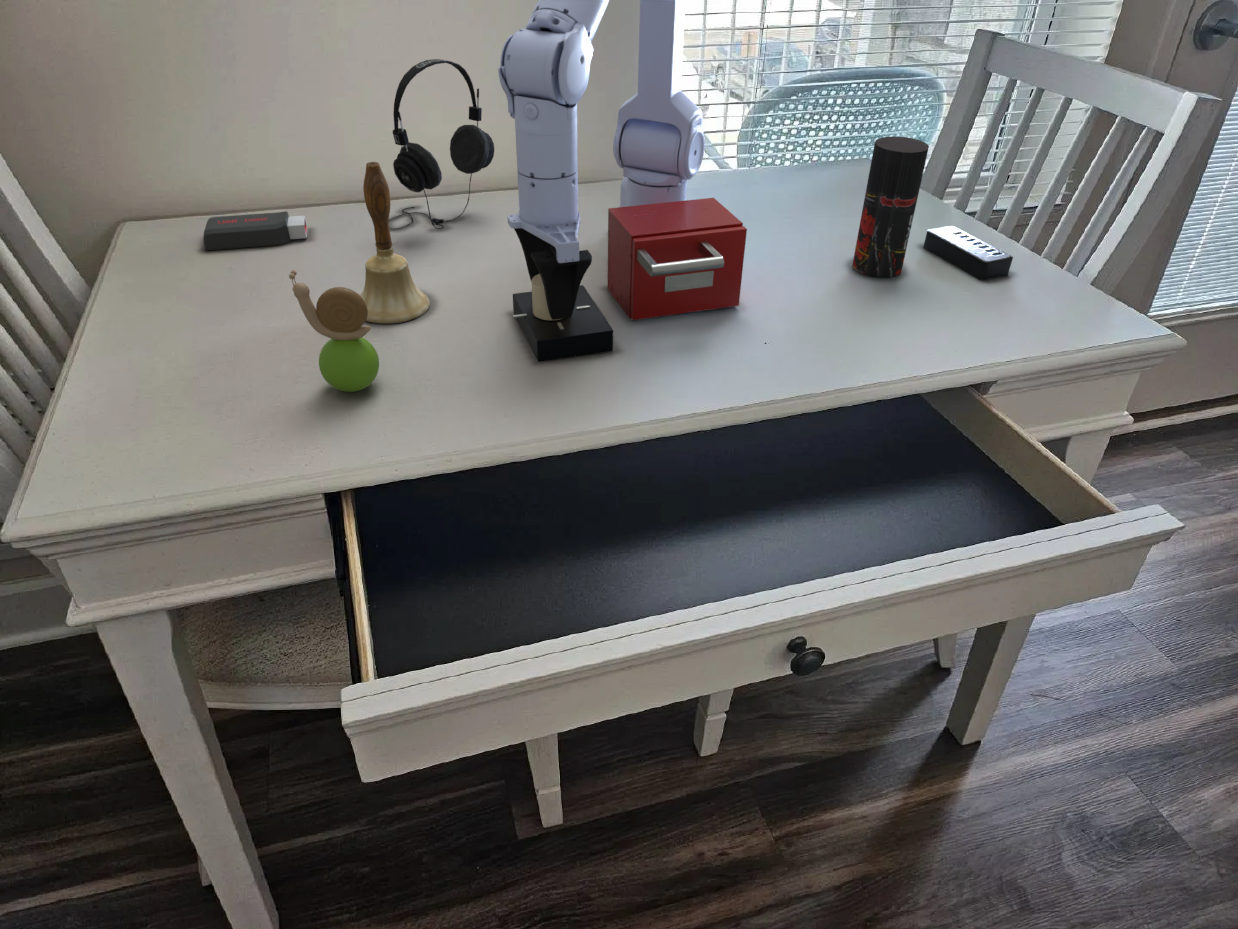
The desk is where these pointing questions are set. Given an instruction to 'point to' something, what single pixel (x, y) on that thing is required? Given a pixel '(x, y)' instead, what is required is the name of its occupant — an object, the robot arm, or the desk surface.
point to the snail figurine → (341, 336)
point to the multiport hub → (968, 252)
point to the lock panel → (564, 329)
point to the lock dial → (539, 299)
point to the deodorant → (889, 206)
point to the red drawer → (687, 272)
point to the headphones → (466, 145)
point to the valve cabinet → (655, 234)
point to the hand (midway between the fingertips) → (551, 300)
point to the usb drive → (253, 230)
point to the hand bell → (387, 262)
